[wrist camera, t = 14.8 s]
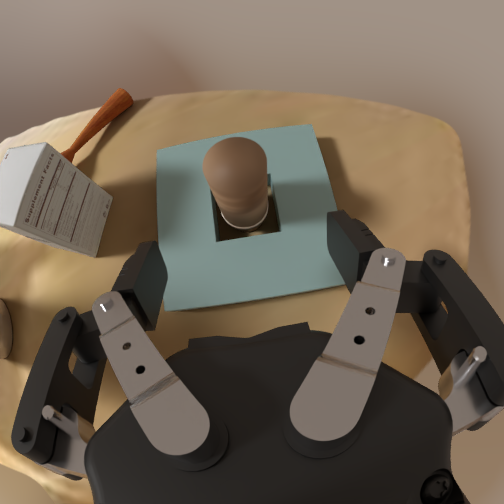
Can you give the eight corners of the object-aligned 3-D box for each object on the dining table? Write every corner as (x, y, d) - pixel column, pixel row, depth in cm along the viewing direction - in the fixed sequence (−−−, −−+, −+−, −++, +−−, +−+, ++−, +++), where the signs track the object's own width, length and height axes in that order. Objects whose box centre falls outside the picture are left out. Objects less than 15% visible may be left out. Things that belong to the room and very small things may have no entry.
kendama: (134, 89, 26) (25, 217, 22) (143, 116, 32) (50, 230, 28) (107, 76, 26) (6, 193, 22) (117, 102, 32) (29, 207, 28)
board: (174, 311, 24) (164, 311, 22) (164, 161, 28) (156, 150, 25) (345, 284, 24) (353, 281, 21) (308, 137, 27) (311, 124, 25)
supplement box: (55, 249, 26) (-21, 218, 14) (73, 192, 28) (7, 145, 16) (97, 260, 26) (11, 228, 13) (115, 196, 27) (47, 138, 15)
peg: (228, 240, 25) (204, 197, 16) (222, 200, 26) (199, 142, 16) (271, 233, 25) (273, 186, 15) (264, 193, 26) (261, 132, 16)
